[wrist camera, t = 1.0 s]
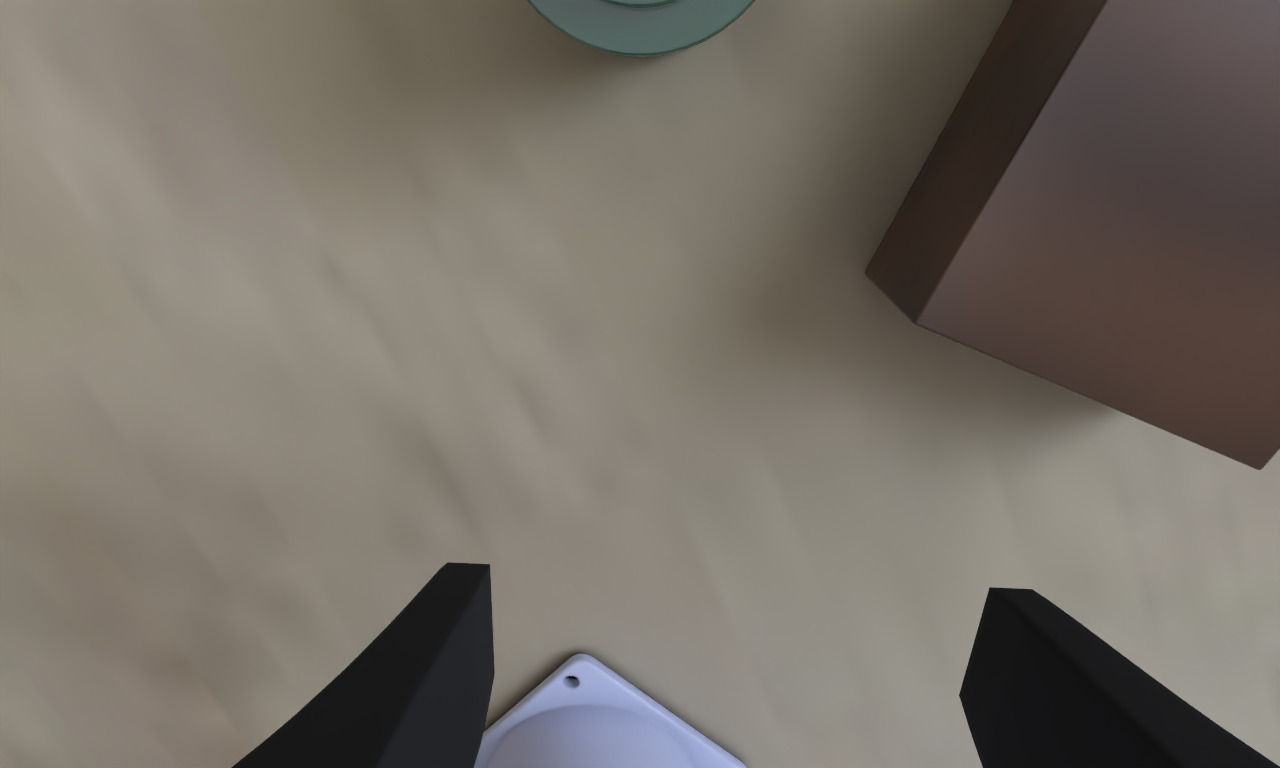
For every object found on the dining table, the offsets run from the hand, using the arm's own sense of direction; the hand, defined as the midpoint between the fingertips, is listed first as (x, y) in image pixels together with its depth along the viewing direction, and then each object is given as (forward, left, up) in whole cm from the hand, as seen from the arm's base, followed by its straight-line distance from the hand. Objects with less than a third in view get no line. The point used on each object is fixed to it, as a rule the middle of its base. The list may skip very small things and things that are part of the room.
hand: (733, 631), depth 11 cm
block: (+11, -4, -10) cm, 15 cm away
